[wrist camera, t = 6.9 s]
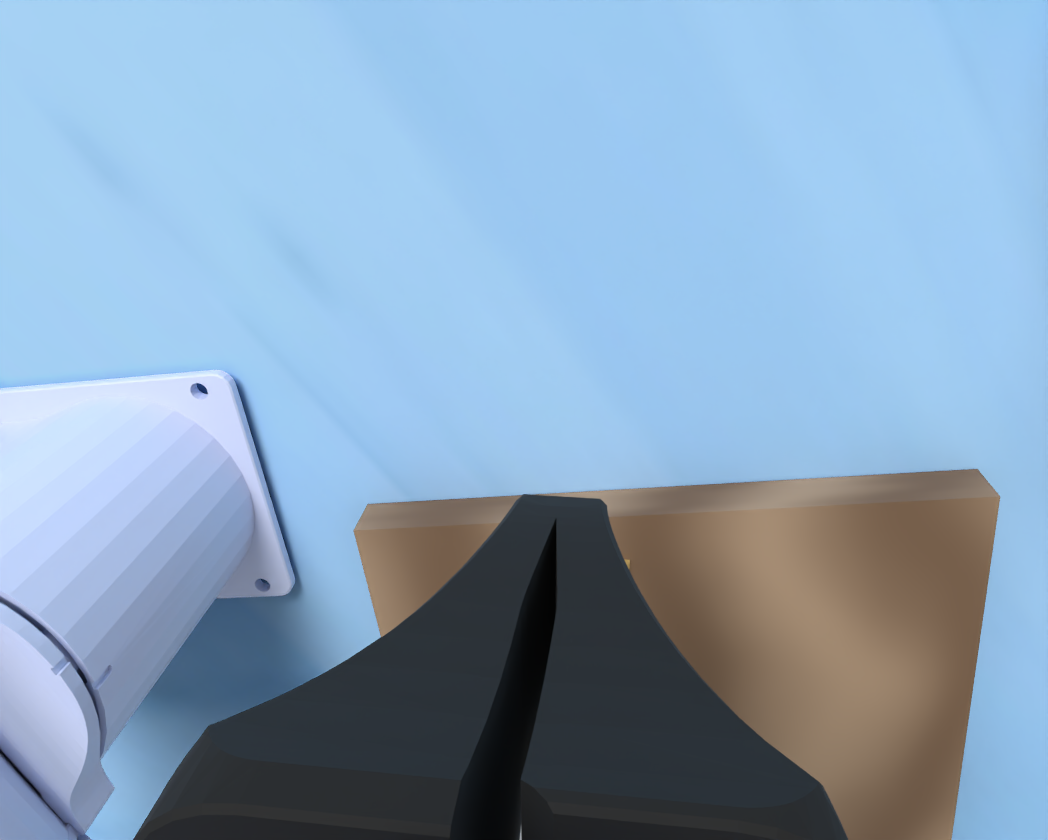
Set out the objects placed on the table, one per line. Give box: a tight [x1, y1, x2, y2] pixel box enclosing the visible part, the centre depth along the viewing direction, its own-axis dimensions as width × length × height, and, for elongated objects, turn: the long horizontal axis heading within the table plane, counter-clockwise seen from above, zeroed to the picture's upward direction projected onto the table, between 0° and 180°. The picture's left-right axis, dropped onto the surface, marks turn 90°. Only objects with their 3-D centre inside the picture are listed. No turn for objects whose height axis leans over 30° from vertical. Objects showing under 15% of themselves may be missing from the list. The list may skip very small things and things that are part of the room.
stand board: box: [354, 469, 1000, 840], centre depth 27 cm, size 18×20×2 cm
